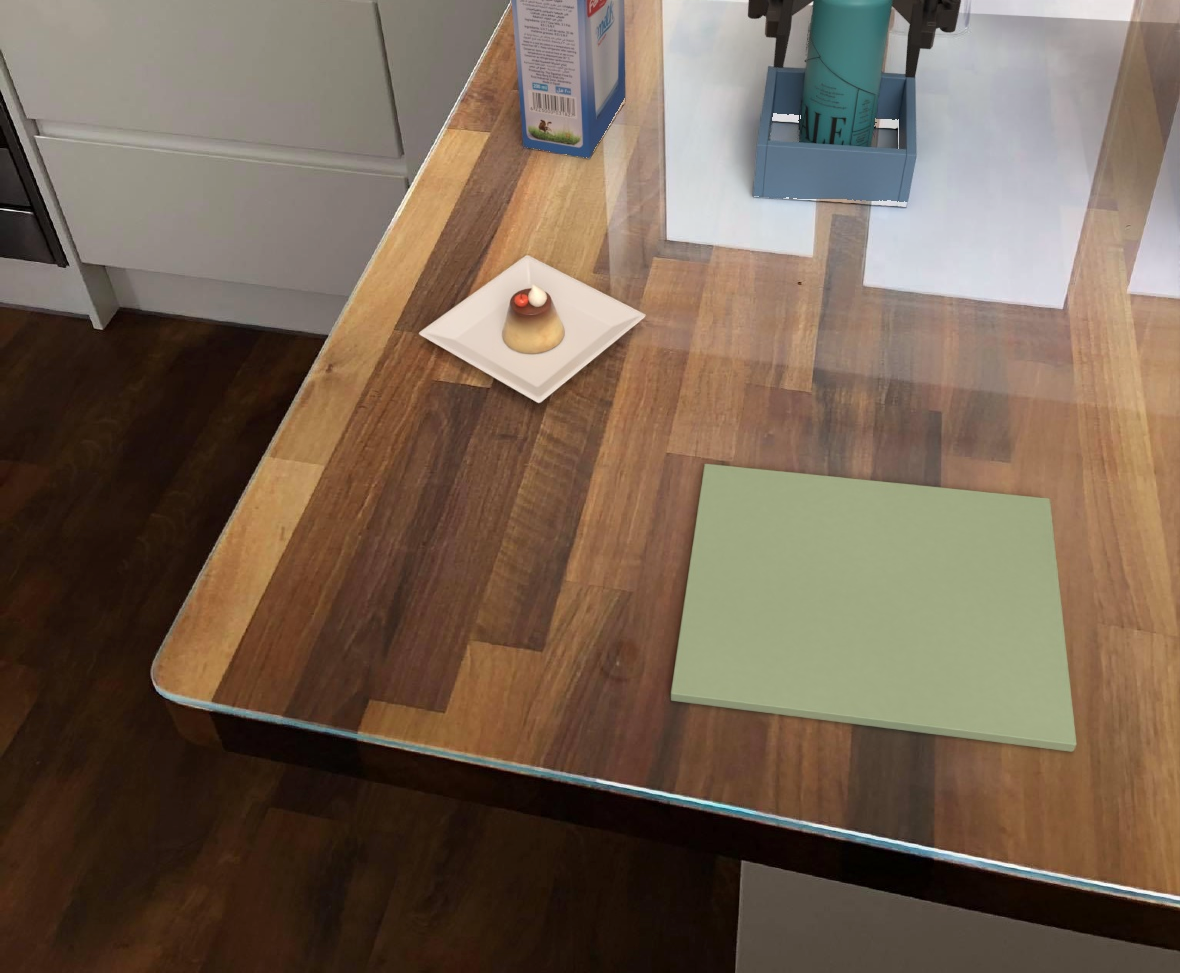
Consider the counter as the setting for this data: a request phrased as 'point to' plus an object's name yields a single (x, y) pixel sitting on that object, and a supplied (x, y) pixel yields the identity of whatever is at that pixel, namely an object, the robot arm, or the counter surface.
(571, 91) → the milk carton
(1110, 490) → the counter surface
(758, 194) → the box
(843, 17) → the beverage bottle
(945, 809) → the counter surface
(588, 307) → the dessert
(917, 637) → the mat
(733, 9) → the counter surface
